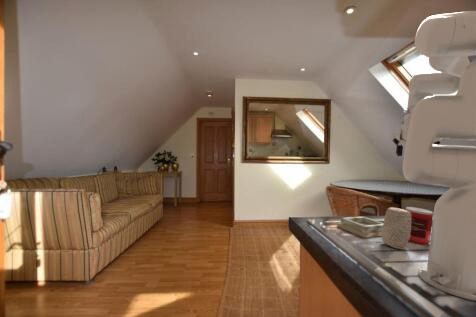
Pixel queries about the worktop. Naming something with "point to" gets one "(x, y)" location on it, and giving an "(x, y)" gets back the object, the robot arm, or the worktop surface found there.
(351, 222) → the beige shallow tray
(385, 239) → the carving
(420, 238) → the canned food
